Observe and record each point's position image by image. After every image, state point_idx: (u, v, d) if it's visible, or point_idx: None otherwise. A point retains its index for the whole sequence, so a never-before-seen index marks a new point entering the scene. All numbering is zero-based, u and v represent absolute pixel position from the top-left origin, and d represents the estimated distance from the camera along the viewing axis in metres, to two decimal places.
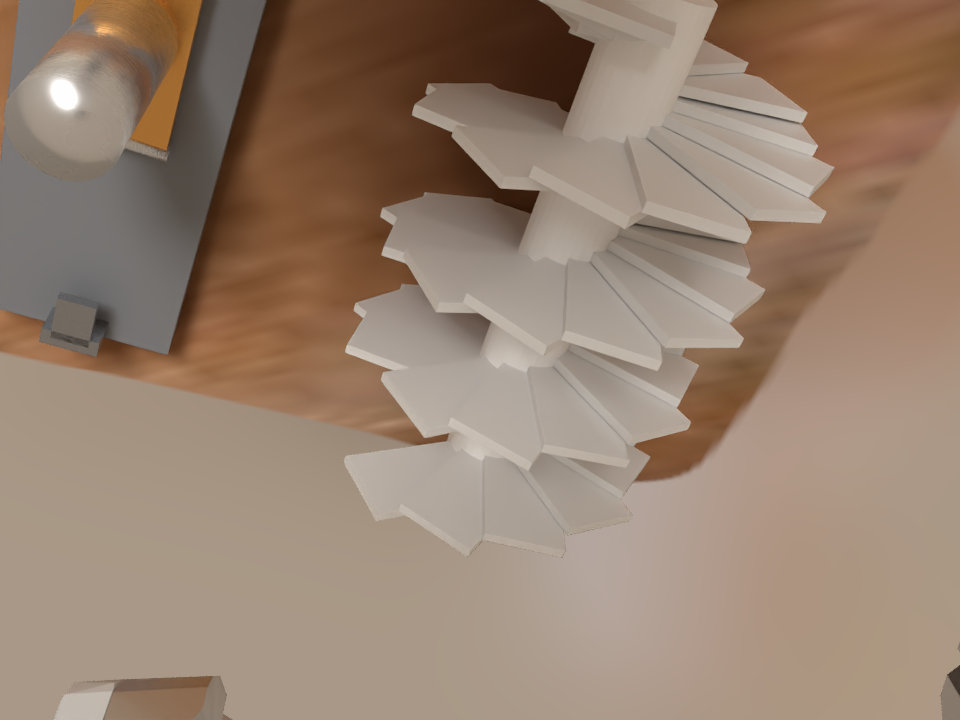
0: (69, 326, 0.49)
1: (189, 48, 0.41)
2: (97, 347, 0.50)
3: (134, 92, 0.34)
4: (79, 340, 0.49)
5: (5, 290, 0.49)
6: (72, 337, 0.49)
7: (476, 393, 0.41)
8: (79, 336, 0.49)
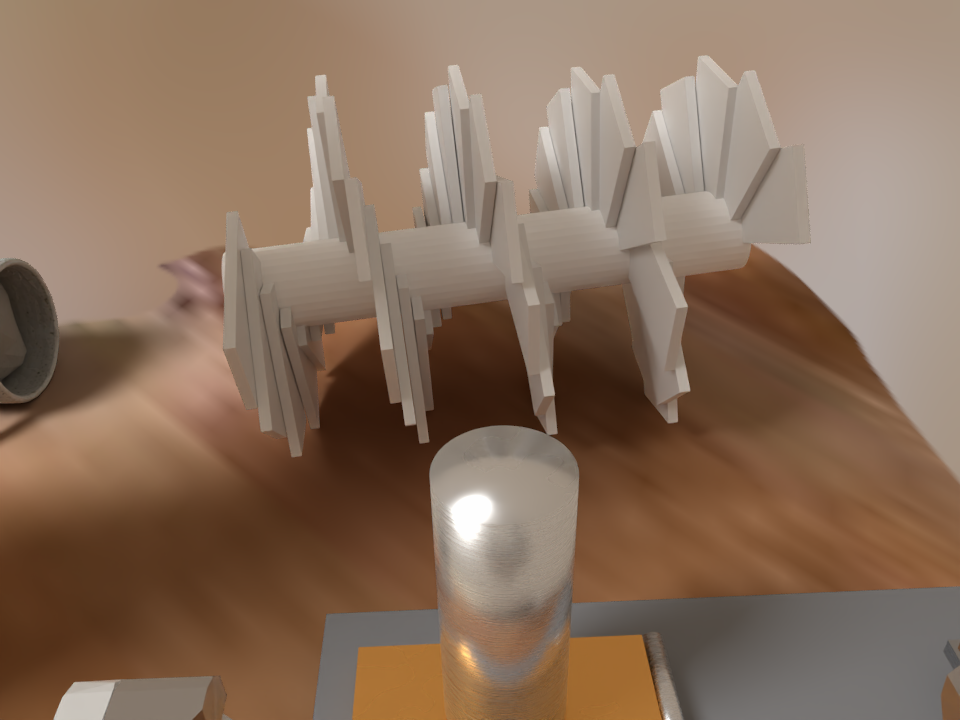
0: None
1: None
2: None
3: None
4: None
5: None
6: None
7: (615, 182, 0.40)
8: None
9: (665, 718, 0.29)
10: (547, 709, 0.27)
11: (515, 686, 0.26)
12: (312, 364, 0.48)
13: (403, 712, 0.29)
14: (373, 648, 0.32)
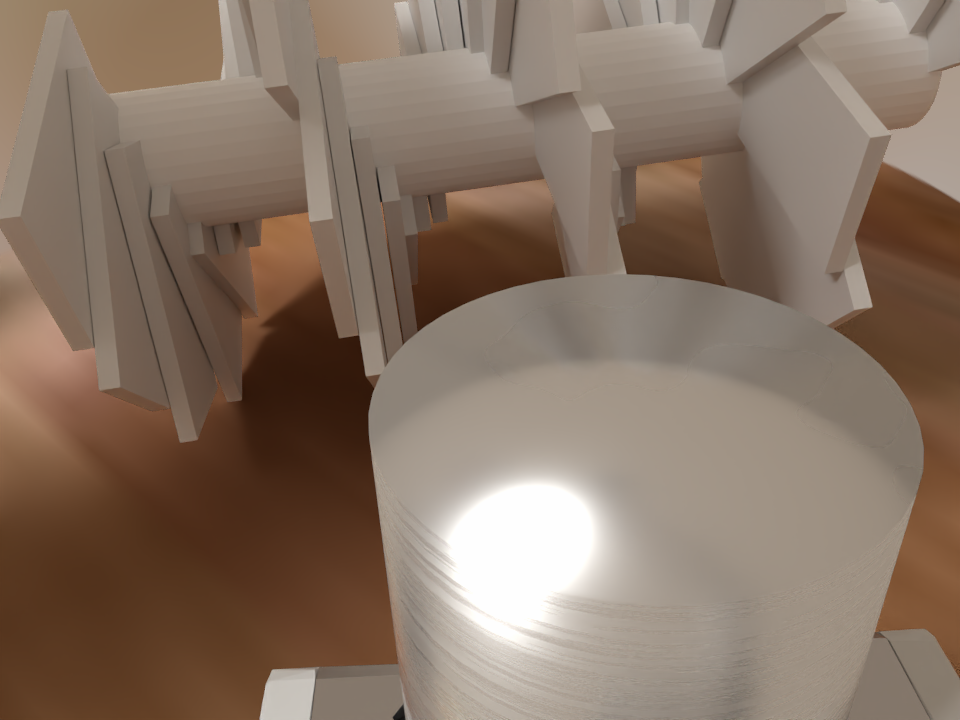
0: None
1: None
2: None
3: None
4: None
5: None
6: None
7: None
8: None
9: None
10: None
11: None
12: (230, 301, 0.31)
13: None
14: None
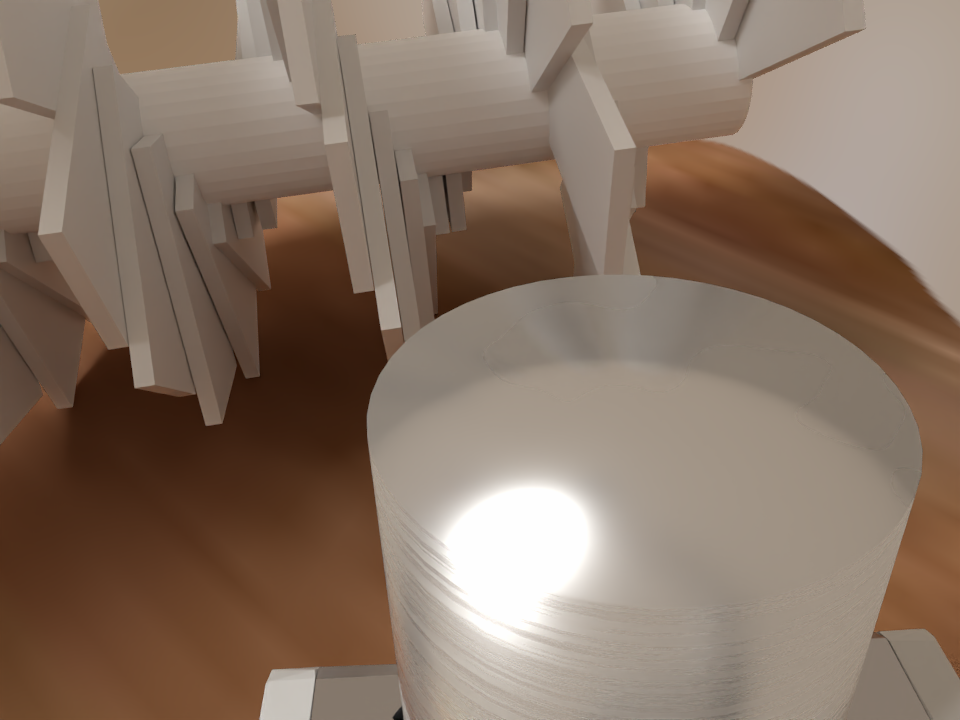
0: None
1: None
2: None
3: None
4: None
5: None
6: None
7: None
8: None
9: None
10: None
11: None
12: (65, 307, 0.30)
13: None
14: None
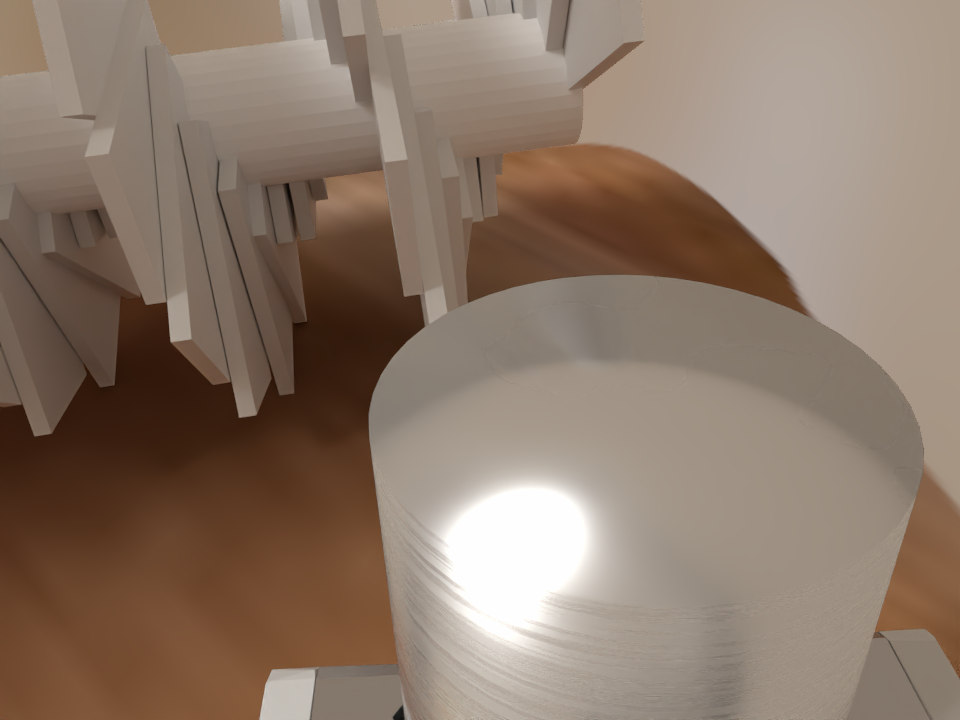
0: None
1: None
2: None
3: None
4: None
5: None
6: None
7: None
8: None
9: None
10: None
11: None
12: None
13: None
14: None
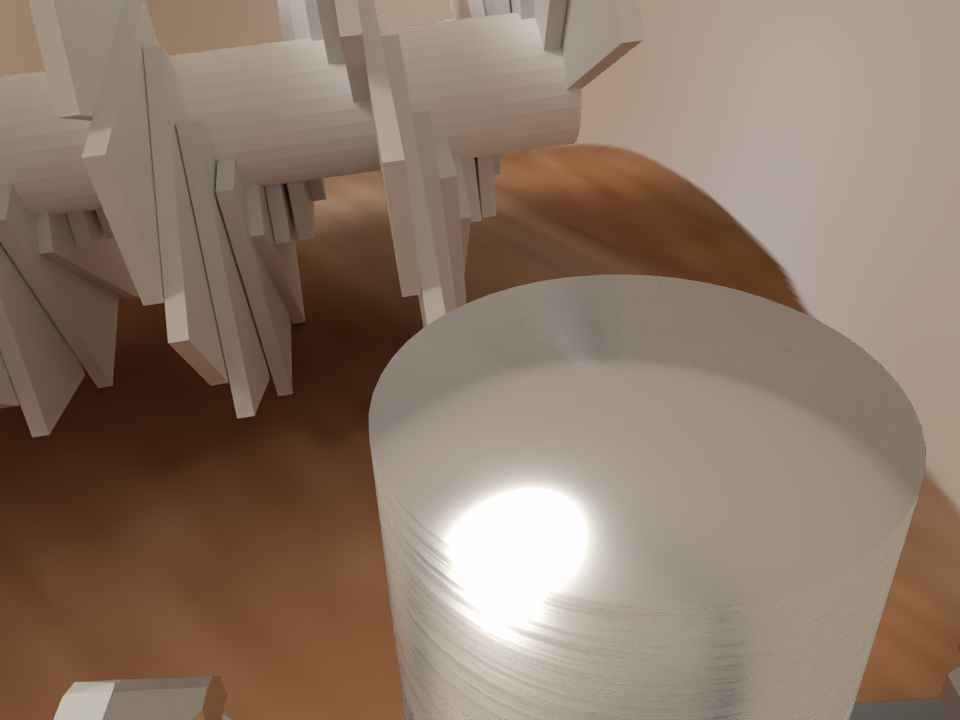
0: None
1: None
2: None
3: None
4: None
5: None
6: None
7: None
8: None
9: None
10: None
11: None
12: None
13: None
14: None
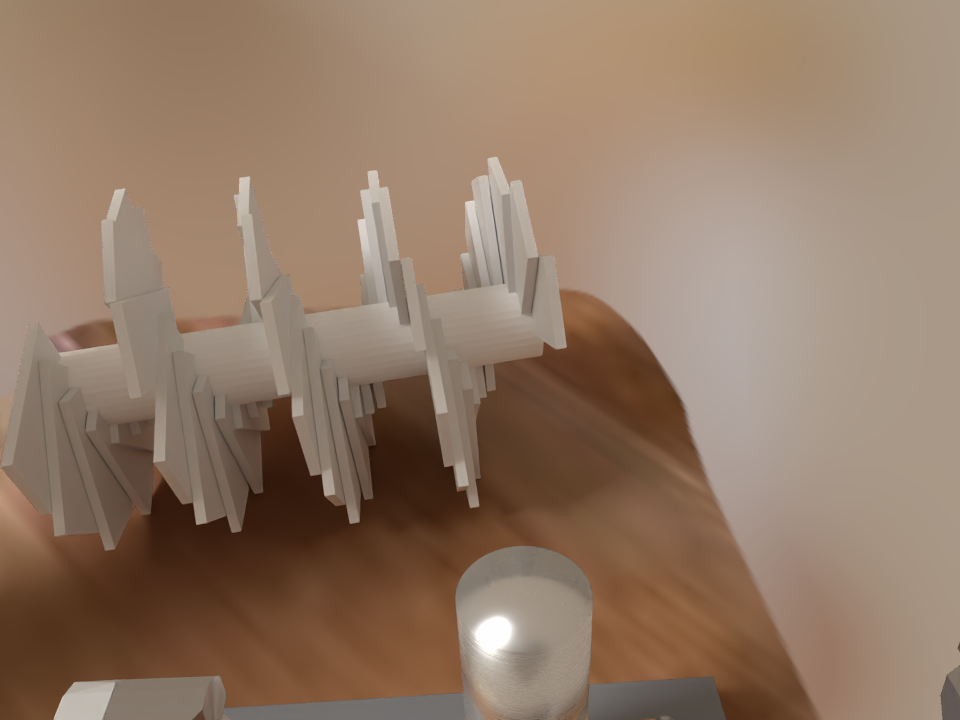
0: None
1: None
2: None
3: None
4: None
5: None
6: None
7: (393, 288, 0.42)
8: None
9: None
10: None
11: None
12: (144, 452, 0.50)
13: None
14: None
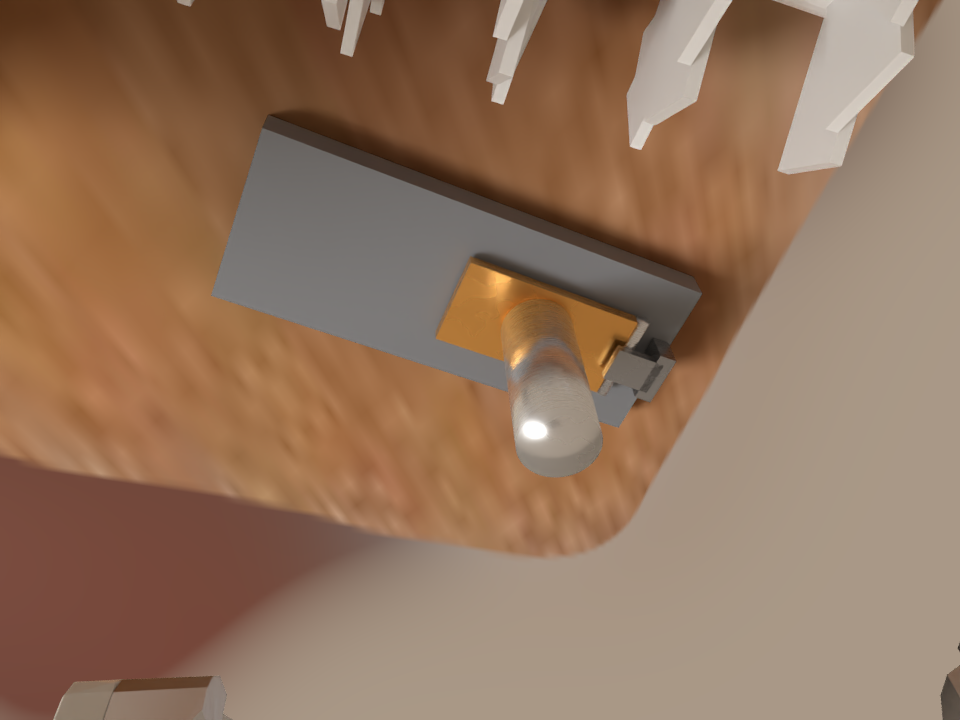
0: (636, 375, 0.51)
1: (550, 292, 0.48)
2: (664, 358, 0.50)
3: (547, 376, 0.42)
4: (653, 371, 0.50)
5: (605, 408, 0.54)
6: (649, 375, 0.51)
7: (681, 8, 0.31)
8: (649, 370, 0.50)
9: None
10: None
11: None
12: None
13: (479, 314, 0.49)
14: (479, 267, 0.47)
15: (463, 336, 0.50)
